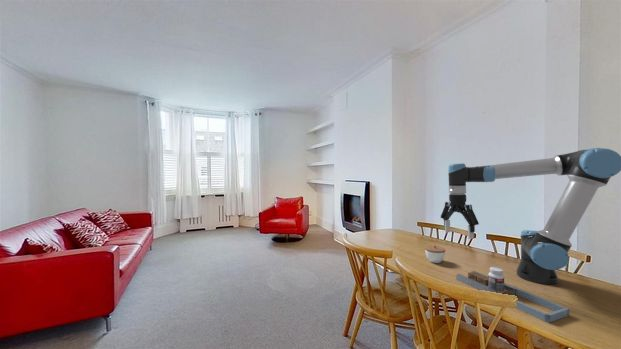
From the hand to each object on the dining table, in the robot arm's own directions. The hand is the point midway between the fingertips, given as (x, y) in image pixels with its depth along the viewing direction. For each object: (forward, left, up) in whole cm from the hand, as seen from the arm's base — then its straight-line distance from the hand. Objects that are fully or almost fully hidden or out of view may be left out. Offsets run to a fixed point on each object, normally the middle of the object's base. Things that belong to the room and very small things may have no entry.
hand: (458, 235), depth 127 cm
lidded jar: (+12, -15, -21) cm, 29 cm away
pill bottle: (-14, +11, -21) cm, 28 cm away
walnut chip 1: (-7, +5, -21) cm, 22 cm away
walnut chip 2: (-10, +8, -21) cm, 24 cm away
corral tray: (-25, +20, -21) cm, 38 cm away
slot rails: (-10, +8, -21) cm, 24 cm away
